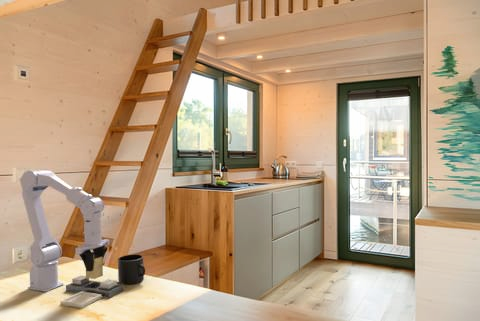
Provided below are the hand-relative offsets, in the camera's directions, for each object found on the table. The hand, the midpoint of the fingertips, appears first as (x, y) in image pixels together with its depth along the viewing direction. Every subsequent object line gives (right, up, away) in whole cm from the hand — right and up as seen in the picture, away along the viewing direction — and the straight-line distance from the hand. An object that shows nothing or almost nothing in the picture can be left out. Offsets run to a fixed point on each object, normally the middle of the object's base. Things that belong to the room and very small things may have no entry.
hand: (93, 268), depth 132 cm
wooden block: (0, -3, 0) cm, 3 cm away
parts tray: (0, -8, -9) cm, 12 cm away
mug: (+12, -8, +9) cm, 17 cm away
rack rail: (0, -8, 0) cm, 8 cm away
